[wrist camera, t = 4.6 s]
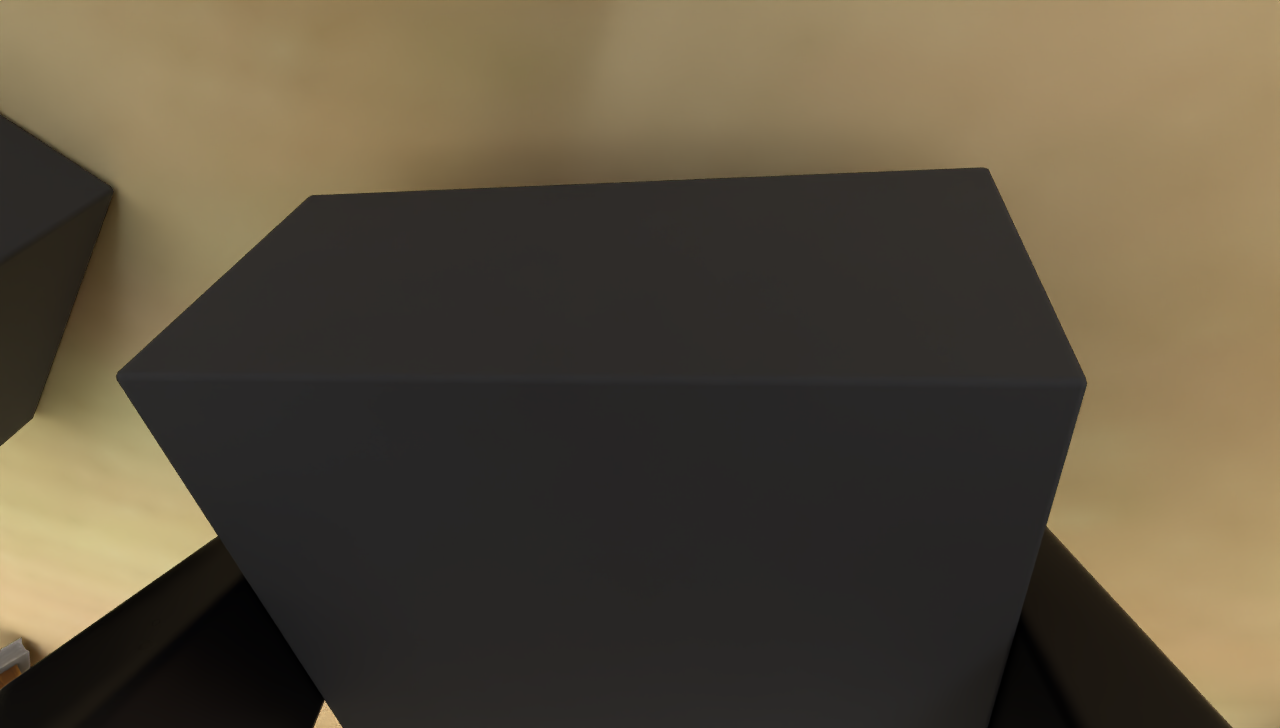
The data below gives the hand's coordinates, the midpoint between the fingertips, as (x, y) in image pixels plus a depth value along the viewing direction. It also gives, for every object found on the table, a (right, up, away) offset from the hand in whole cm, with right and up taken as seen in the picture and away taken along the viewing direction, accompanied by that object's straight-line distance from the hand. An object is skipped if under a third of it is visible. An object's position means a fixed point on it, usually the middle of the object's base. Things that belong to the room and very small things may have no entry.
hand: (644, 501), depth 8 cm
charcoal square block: (0, +1, +1) cm, 1 cm away
